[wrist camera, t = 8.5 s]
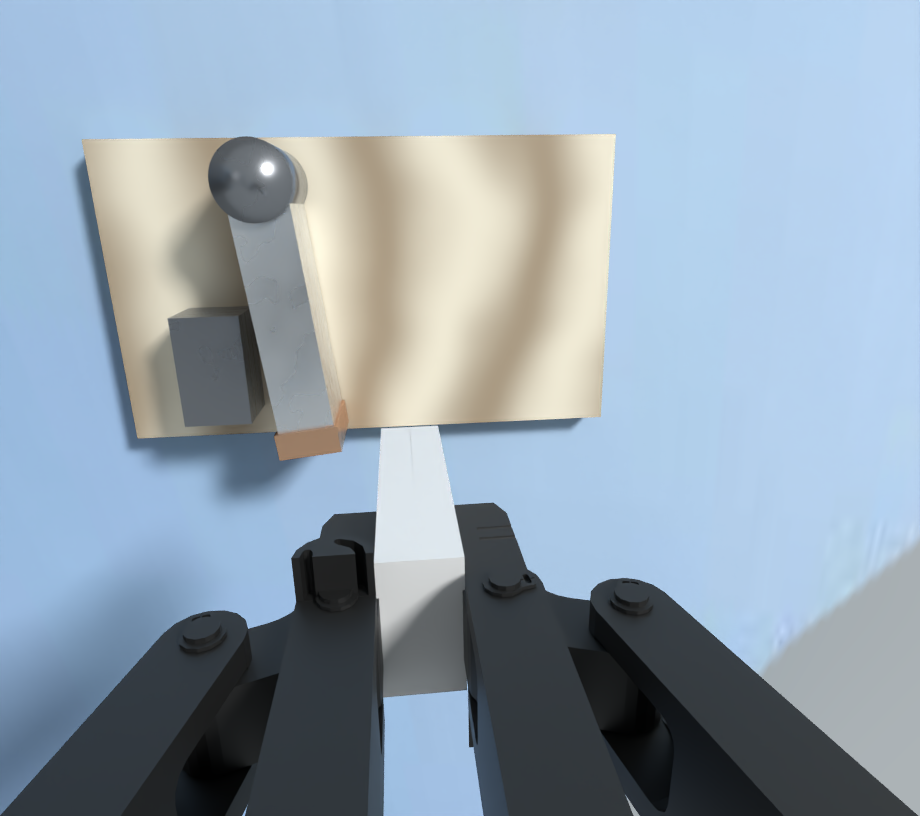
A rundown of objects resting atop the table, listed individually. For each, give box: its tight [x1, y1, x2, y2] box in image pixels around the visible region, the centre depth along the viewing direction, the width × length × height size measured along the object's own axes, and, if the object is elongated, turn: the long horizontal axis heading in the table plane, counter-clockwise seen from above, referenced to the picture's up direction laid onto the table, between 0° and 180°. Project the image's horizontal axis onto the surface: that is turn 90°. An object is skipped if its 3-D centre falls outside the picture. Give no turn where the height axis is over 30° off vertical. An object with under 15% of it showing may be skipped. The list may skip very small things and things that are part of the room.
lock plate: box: [82, 134, 616, 438], centre depth 31 cm, size 24×14×2 cm, turn 91°
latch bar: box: [208, 137, 349, 461], centre depth 28 cm, size 13×3×4 cm, turn 7°
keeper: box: [167, 306, 265, 427], centre depth 30 cm, size 3×5×3 cm, turn 1°
